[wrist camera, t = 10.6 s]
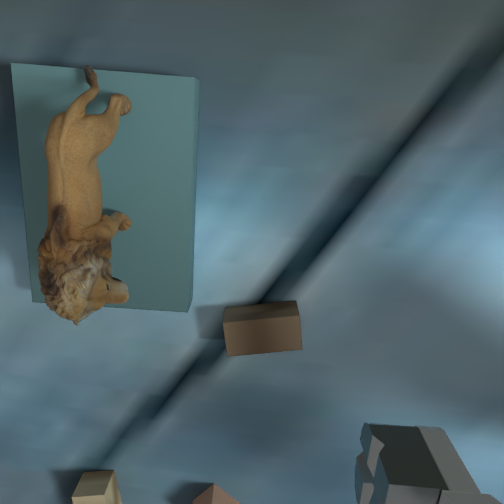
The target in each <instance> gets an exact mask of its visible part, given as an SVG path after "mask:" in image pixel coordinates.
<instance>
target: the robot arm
mask: <svg viewBox="0 0 504 504" xmlns="http://www.w3.org/2000/svg"><path fill="white" fill-rule="evenodd" d="M360 441H361V444H362V448H363V452H362V453H361V454H360V455H359V456H357V459H356V466H355V492H356V499H357V503H358V504H502V503H500V502H499V501H498V500H496V499H495V498H494V497H492V496H491V495H489V494H481V492H480V490H479V489H478V487H477V485H476V484H475V482H474V480H473V479H472V477H471V475H470V473H469V472H468V470H467V468H466V467H465V465H464V463H463V462H462V460H461V458H460V457H459V455H458V453H457V451H456V450H455V448H454V446H453V445H452V443H451V441H450V440H449V438H448V436H447V435H446V433H445V431H444V430H443V429H441V428H440V427H428V426H414V427H413V426H402V425H389V424H377V423H364V425H363V427H362V431H361V436H360Z"/></svg>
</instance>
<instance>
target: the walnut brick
mask: <svg viewBox="0 0 504 504" xmlns="http://www.w3.org/2000/svg"><path fill="white" fill-rule="evenodd" d="M223 329H224V336H225V343H226V350H227V357H228V356H239V355H250V354H261V353H271V352H282V351H293V350H302V339H301V327H300V315H299V311H298V307H297V303H296V301H287V302H277V303H267V304H257V305H247V306H236V307H226V308H225V311H224V318H223Z"/></svg>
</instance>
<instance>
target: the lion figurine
mask: <svg viewBox="0 0 504 504" xmlns="http://www.w3.org/2000/svg"><path fill="white" fill-rule="evenodd" d="M84 72H85V76H86V82H87V83H88V84H89V86H90V87H91V88H90V89H89V90H87V91H86V92H84V93H83V94H81V95H80V96H78V97H77V98H76V99H75V101H73V102H72V103H71V105H70V106H69V107H68V109H67V110H66V112H61V113H59V114H57V115H56V116H55V117H54V118H53V119H52V120H51V122H50V124H49V127H48V131H47V134H46V139H45V155H46V159H47V166H48V183H47V219H48V225H47V229H46V231H45V236H44V238H42V239H41V241H40V243H39V247H38V248H37V252H38V254H39V255H38V256H37V260H38V262H39V264H38V268H39V273H38V277H39V280H40V286H42V287H41V288H40V290H41V292H42V294H43V295H44V296H45V303H46V305H47V306H48V307H49V308H50V310H52V311H55V312H56V313H57V314H58V315H59V316H60V317H62V318H66V319H68V320H72V321H73V323H74V324H75V325H77V326H78V323H79V322H80V321H81V320H83V319H85V318H86V317H88V315H89V314H91V313H93V312H94V311H95V310H99V309H100V308H102V307H103V306H104V305H105V304H123V303H125V302H126V301H127V300H128V298H129V293H128V287H127V285H126V284H125V283H124V282H123V281H122V280H119V279H118V278H115V277H112V268H111V263H110V261H109V260H110V259H111V256H112V247H111V239H112V238H113V237H114V236H115V234H116V233H117V231H118V230H120V231H122V232H124V231H125V230H127V229H129V227H130V225H131V224H132V222H131V220H130V219H129V217H128V216H126V215H125V214H124V213H118V212H114V213H113V214H111V216H108V215H102V185H101V178H100V174H99V170H98V167H97V158H98V156H99V155H100V154H101V153H102V152H103V151H105V150H106V149H107V148H108V147H109V146H110V144H111V142H112V140H113V139H114V137H115V135H116V133H117V130H118V126H119V118H120V116H124V115H126V114H128V113H129V112H130V110H131V102H130V100H129V98H128V97H127V96H125V95H123V94H119V93H116V94H113V95H111V96H110V98H109V101H108V107H107V109H106V110H105V111H104V112H103V113H102V114H90V115H87V114H86V111H85V107H86V105H88V104H89V103H90V102H91V101H92V100H93V99H94V98H95V97H96V95H97V94H98V92H99V85H98V83H97V74H96V73H95V72H94V70H93V68H92V67H91V66H89V65H88V66H85V67H84Z"/></svg>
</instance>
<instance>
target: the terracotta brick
mask: <svg viewBox="0 0 504 504" xmlns="http://www.w3.org/2000/svg"><path fill="white" fill-rule="evenodd" d="M193 504H240V503H239V502H238V501H236V500H235V499H234V498H232V497H231V496H230V495H229V494H227V493H226V492H225V491H223V490H222V489H221V488H220V487H218V486H217V485H216V484H215V483H214V484H212V485H211V486H210V487H209V488H207V489H206V490H205V491H204V492H202V493H201V494H200V495H199V496H197V497H196V498H195V499H194V500H193Z"/></svg>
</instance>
